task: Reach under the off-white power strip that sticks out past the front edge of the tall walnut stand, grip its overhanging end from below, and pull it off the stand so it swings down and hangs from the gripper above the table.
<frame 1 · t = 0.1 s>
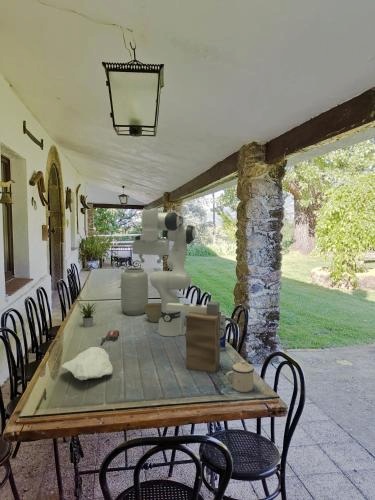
hand: (150, 262, 196), 48 cm above the table, tool pointing down, fingers open, 8 cm apart
stand: (203, 366, 179), on the table
walkie-talkie: (110, 340, 217), on the table
planter bowl: (156, 320, 257), on the table
house plant: (90, 326, 244), on the table
vase: (134, 313, 277), on the table
milk carton: (217, 349, 202), on the table
power strip: (192, 311, 181), point 26 cm above the table, touching stand
teacup with lid: (239, 388, 156), on the table
crumpled cloth: (88, 373, 171), on the table
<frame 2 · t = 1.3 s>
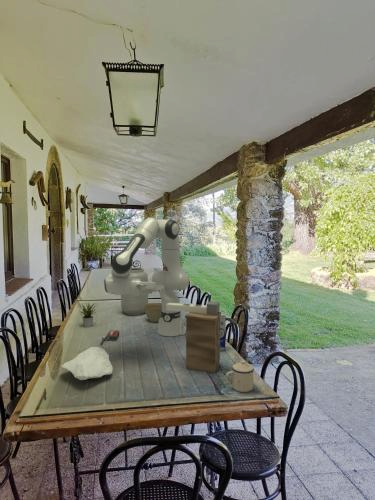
hand: (162, 288, 192), 35 cm above the table, tool horizontal, fingers open, 8 cm apart
nothing on the table moved.
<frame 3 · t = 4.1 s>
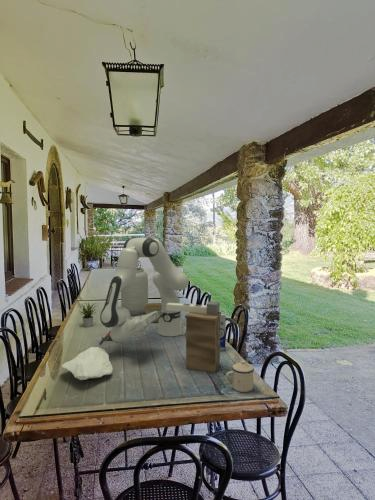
hand: (158, 314, 187), 23 cm above the table, tool pointing upward, fingers open, 8 cm apart
nothing on the table moved.
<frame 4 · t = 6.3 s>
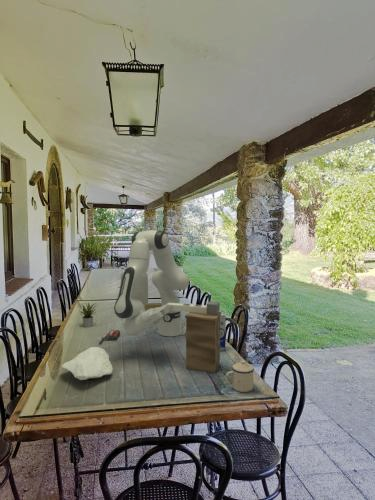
hand: (173, 306, 184), 28 cm above the table, tool pointing upward, fingers closed on power strip, 4 cm apart
power strip: (192, 311, 181), point 26 cm above the table, touching gripper, stand
everything else where it was.
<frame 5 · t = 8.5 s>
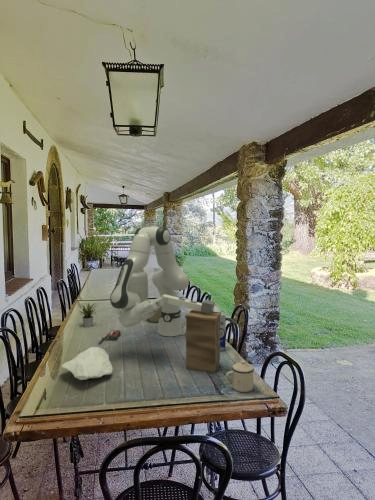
hand: (168, 297, 184), 32 cm above the table, tool pointing upward, fingers closed on power strip, 4 cm apart
power strip: (186, 306, 182), point 28 cm above the table, tilted 9°, touching gripper
everything else where it was.
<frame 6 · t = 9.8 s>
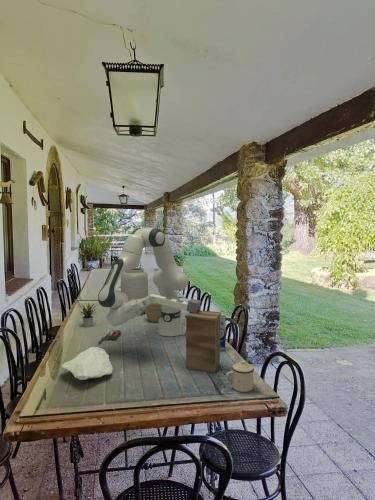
hand: (155, 296, 186), 32 cm above the table, tool pointing upward, fingers closed on power strip, 4 cm apart
power strip: (173, 305, 184), point 28 cm above the table, tilted 9°, touching gripper
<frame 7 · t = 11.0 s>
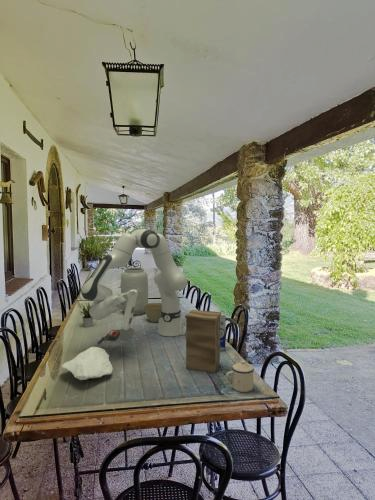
hand: (136, 291, 189), 34 cm above the table, tool pointing upward, fingers closed on power strip, 4 cm apart
power strip: (126, 313, 192), point 22 cm above the table, tilted 103°, touching gripper
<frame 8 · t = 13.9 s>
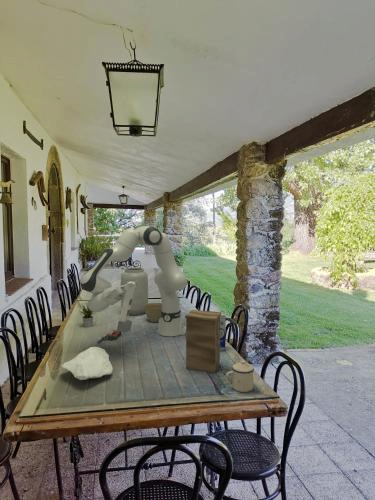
hand: (134, 283, 189), 38 cm above the table, tool pointing upward, fingers closed on power strip, 4 cm apart
power strip: (124, 305, 192), point 26 cm above the table, tilted 103°, touching gripper
at the end: the gripper is holding power strip; power strip touching gripper; power strip inside the target area (5.3 cm from its centre), point 26.0 cm above the table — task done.
